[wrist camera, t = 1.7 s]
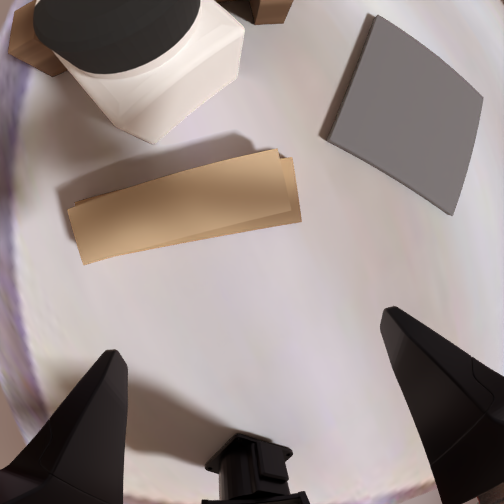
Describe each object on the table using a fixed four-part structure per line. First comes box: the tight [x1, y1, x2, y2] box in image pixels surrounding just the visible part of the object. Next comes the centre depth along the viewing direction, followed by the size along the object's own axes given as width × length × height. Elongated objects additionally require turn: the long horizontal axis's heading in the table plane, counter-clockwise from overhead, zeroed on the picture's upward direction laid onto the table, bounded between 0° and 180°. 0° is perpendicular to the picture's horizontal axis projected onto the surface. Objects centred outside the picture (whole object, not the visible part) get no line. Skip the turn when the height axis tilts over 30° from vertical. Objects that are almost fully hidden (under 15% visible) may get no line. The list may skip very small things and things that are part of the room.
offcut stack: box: [67, 149, 302, 265], centre depth 18 cm, size 5×14×2 cm, turn 99°
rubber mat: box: [327, 15, 483, 216], centre depth 18 cm, size 12×12×1 cm
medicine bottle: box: [33, 0, 245, 144], centre depth 11 cm, size 7×7×12 cm
